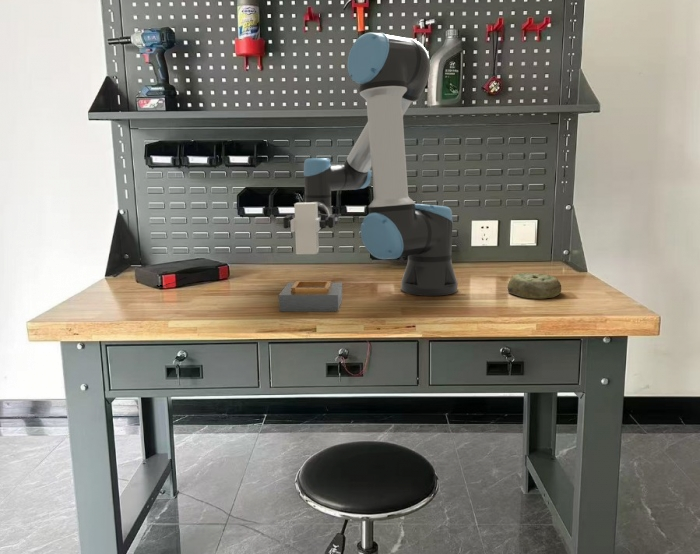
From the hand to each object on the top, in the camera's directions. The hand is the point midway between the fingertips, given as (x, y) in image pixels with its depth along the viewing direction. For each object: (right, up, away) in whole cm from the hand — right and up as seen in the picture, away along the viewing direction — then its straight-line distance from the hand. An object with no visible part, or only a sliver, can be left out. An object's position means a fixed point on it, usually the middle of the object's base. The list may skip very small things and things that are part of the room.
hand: (304, 226), depth 140 cm
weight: (+59, -17, +17) cm, 64 cm away
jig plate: (+1, -19, +8) cm, 21 cm away
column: (0, -6, +6) cm, 8 cm away
